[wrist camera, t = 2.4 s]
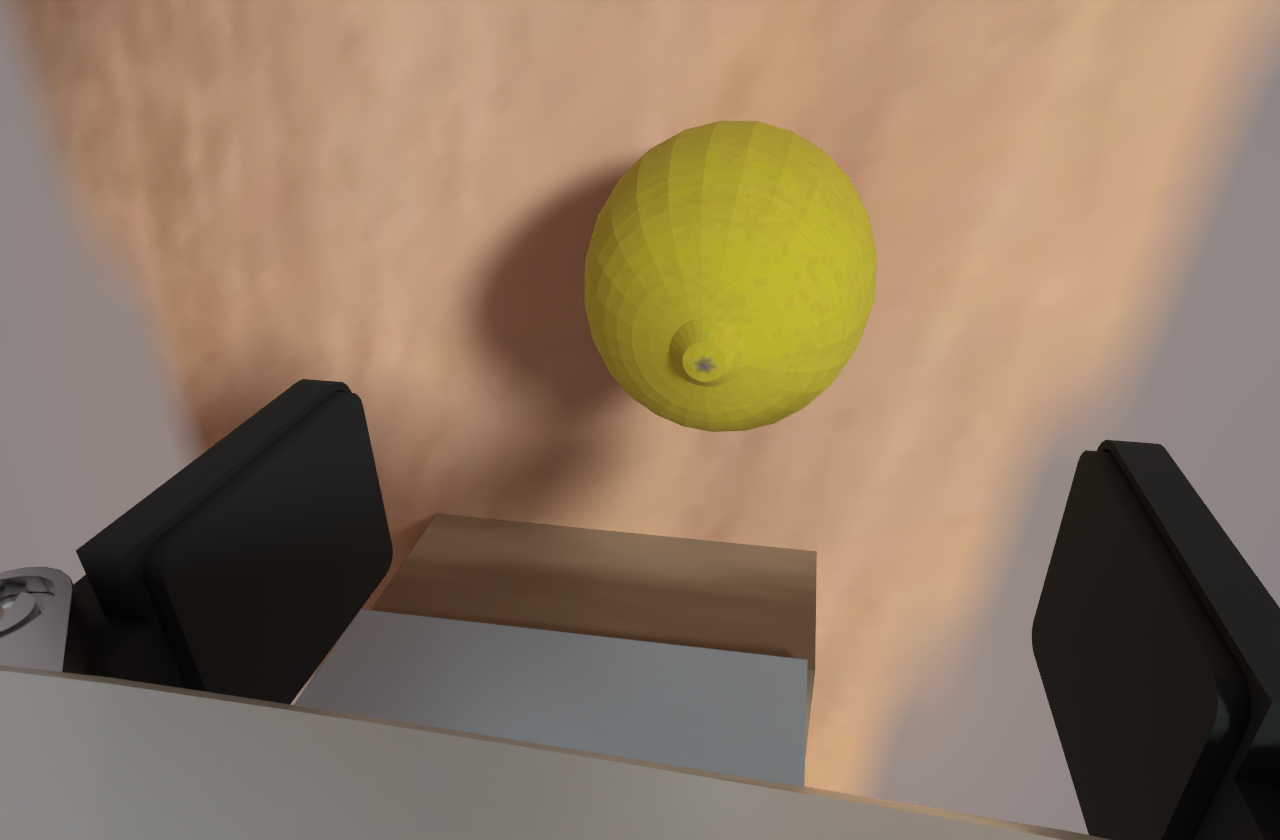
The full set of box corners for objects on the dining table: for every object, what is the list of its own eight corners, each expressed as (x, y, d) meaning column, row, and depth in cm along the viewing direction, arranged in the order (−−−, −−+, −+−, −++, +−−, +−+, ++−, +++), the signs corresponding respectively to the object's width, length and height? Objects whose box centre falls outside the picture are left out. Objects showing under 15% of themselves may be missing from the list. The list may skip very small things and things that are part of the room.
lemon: (628, 309, 21) (536, 484, 14) (636, 81, 18) (526, 165, 11) (844, 334, 20) (855, 533, 13) (889, 100, 17) (930, 202, 11)
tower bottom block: (441, 506, 26) (368, 614, 22) (816, 542, 24) (814, 670, 20) (488, 747, 32) (437, 868, 28) (790, 793, 30) (785, 932, 26)
